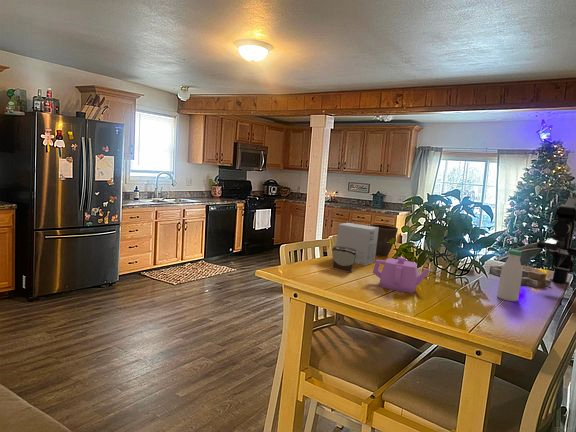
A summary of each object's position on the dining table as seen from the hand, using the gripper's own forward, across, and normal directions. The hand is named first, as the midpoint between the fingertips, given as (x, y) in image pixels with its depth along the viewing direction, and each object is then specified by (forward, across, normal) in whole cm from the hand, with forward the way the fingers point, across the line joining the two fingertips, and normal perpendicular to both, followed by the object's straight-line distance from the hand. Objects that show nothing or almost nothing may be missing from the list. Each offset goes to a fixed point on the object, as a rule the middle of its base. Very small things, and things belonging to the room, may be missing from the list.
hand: (556, 267), depth 191 cm
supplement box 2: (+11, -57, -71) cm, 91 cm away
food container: (+11, -40, -87) cm, 97 cm away
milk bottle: (+11, +6, -39) cm, 41 cm away
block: (+11, -8, 0) cm, 14 cm away
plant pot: (+11, -68, -46) cm, 83 cm away
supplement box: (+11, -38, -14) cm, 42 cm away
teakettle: (+11, -14, -78) cm, 80 cm away
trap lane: (+11, -17, 0) cm, 20 cm away
